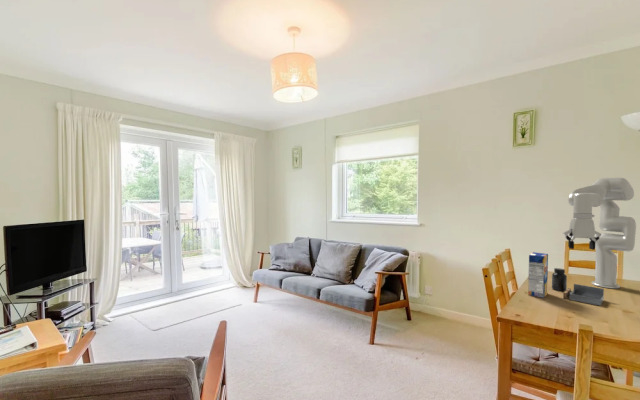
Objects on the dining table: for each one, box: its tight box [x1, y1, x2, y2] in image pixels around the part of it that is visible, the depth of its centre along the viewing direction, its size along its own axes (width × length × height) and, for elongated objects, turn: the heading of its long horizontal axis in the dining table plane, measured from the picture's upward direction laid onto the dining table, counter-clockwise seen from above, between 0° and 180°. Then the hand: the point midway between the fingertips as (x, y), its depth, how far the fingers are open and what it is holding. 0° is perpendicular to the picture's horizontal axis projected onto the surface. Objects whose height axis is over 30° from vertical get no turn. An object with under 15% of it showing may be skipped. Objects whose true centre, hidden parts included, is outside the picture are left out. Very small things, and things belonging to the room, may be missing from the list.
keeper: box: [568, 283, 605, 307], centre depth 163 cm, size 12×12×6 cm
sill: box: [562, 287, 572, 300], centre depth 169 cm, size 12×1×3 cm, turn 132°
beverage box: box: [527, 251, 549, 299], centre depth 172 cm, size 7×11×22 cm, turn 135°
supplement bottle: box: [551, 267, 568, 292], centre depth 180 cm, size 7×7×12 cm
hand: (581, 248), depth 165 cm, fingers open, 9 cm apart
